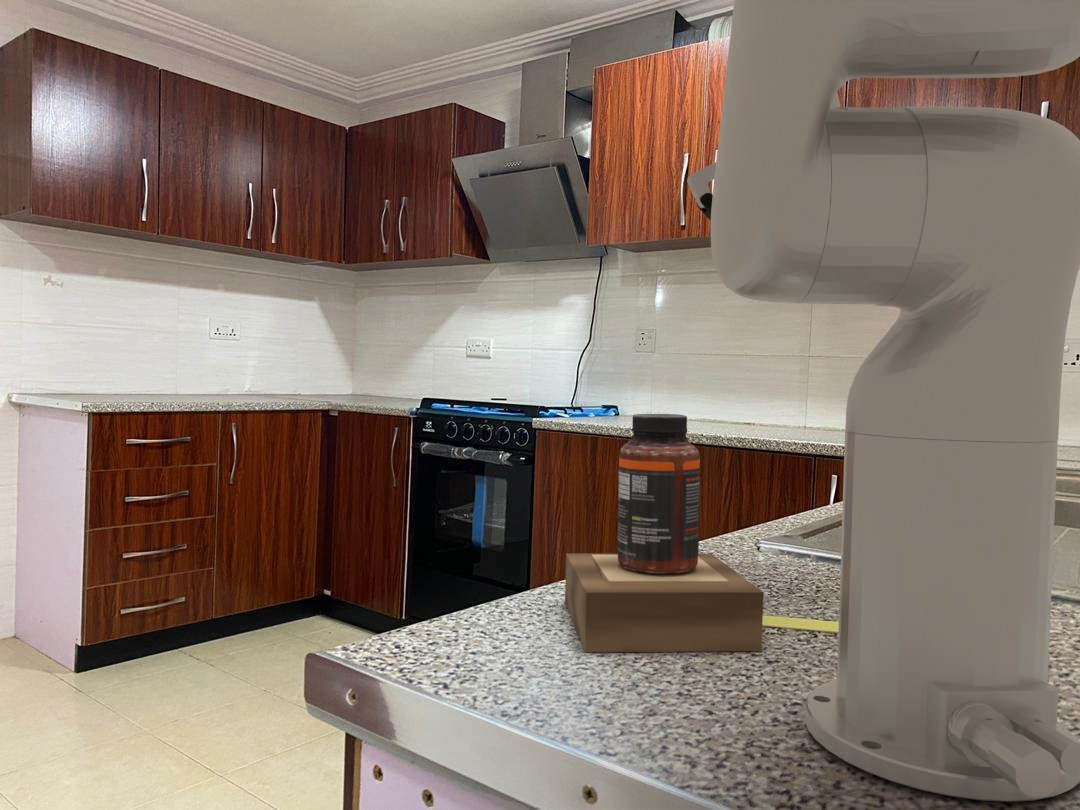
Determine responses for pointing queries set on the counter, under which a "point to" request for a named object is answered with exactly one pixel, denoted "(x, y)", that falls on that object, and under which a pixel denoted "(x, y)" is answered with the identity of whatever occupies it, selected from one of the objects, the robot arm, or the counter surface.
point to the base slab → (661, 607)
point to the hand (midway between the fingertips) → (779, 271)
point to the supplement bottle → (658, 497)
